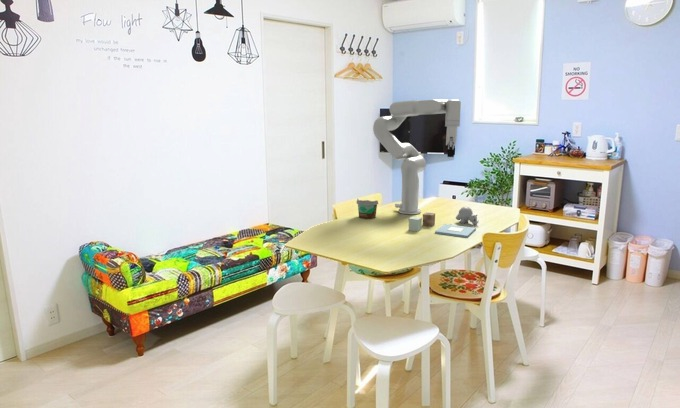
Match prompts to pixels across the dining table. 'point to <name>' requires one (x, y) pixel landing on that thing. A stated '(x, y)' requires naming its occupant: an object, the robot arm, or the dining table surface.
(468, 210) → the chubby cartoon animal
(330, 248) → the dining table surface
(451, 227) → the build board
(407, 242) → the dining table surface
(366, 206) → the food container
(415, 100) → the robot arm
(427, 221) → the walnut block
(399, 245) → the dining table surface
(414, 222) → the sage block
